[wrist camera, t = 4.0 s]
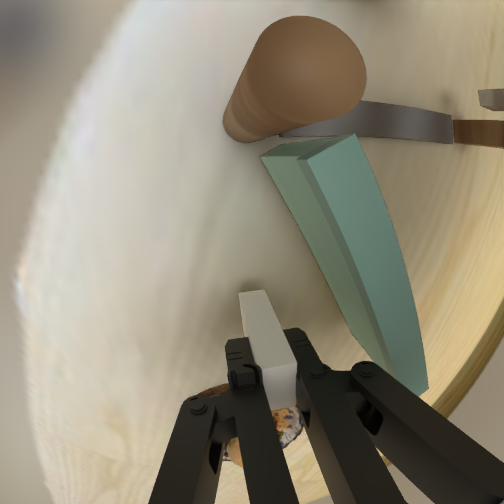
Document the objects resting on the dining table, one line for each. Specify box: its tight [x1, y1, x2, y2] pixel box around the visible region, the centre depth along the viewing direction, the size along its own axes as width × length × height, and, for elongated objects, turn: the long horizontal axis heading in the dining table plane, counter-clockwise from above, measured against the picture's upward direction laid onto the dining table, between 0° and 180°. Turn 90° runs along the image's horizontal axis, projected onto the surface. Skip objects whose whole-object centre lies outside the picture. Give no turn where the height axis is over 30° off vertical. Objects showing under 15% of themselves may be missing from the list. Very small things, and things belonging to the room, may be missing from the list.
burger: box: [198, 384, 304, 467], centre depth 20 cm, size 12×12×8 cm
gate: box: [260, 134, 429, 397], centre depth 14 cm, size 14×2×8 cm, turn 31°
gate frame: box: [223, 16, 504, 149], centre depth 11 cm, size 21×4×11 cm, turn 96°
